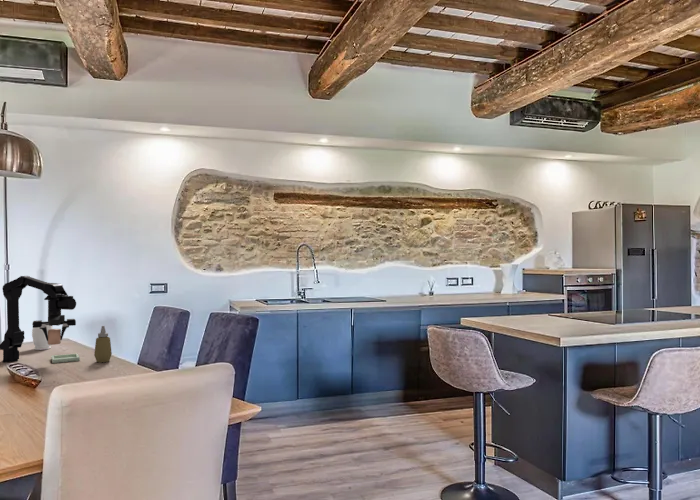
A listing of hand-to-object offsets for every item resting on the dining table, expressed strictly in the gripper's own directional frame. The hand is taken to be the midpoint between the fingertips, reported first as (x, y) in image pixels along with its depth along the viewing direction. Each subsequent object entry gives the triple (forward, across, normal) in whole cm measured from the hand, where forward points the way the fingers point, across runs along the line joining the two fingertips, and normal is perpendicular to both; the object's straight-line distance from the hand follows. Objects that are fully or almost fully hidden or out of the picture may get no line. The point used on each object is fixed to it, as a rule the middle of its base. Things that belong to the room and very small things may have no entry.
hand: (54, 340), depth 267 cm
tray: (+11, +5, +6) cm, 14 cm away
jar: (+12, -5, +48) cm, 50 cm away
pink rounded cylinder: (+2, 0, 0) cm, 2 cm away
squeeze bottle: (+12, +22, -7) cm, 25 cm away
